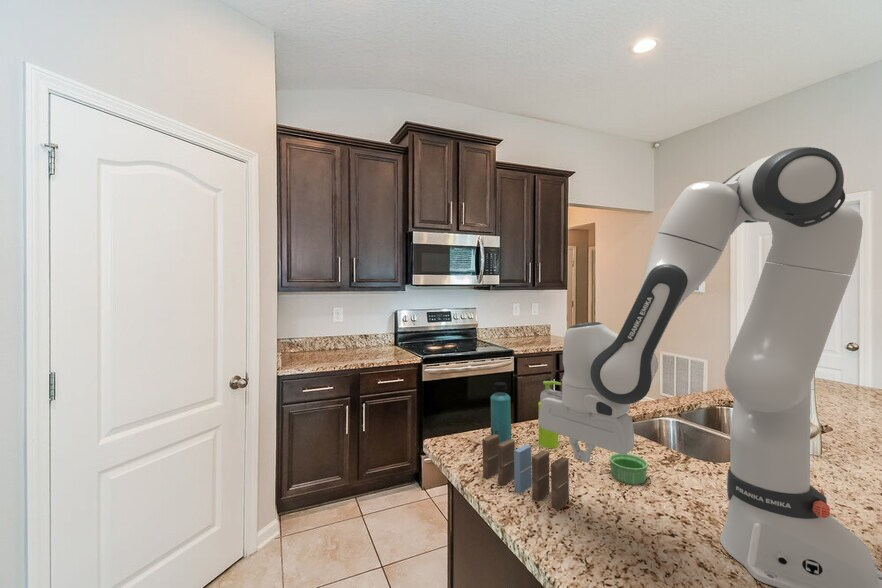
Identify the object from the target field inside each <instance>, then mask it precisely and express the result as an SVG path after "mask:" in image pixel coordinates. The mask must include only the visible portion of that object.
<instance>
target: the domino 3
mask: <svg viewBox="0 0 882 588" xmlns="http://www.w3.org/2000/svg"><path fill="white" fill-rule="evenodd" d="M513 481H514V483H513V484H514V492H515V493H518V494H521V493H523V492H525V491H526V490H527V489H529V488H532V445H529V444H524V445H522V446H520V447H518V448H515V450H514V480H513Z"/></svg>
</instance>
